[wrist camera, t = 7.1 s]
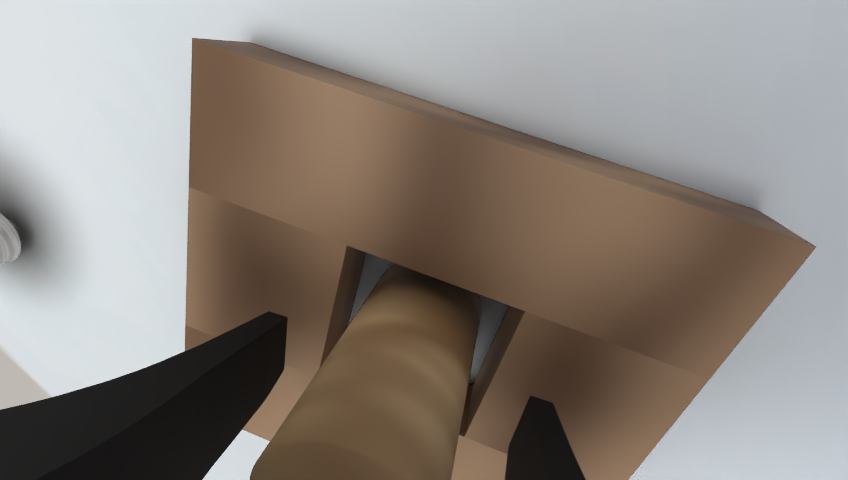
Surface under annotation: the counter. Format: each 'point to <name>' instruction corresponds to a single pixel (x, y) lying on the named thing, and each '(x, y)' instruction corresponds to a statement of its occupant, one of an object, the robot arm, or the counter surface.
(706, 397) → the counter surface
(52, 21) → the counter surface
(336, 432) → the peg
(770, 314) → the counter surface
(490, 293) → the socket board
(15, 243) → the lightbulb
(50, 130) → the counter surface
